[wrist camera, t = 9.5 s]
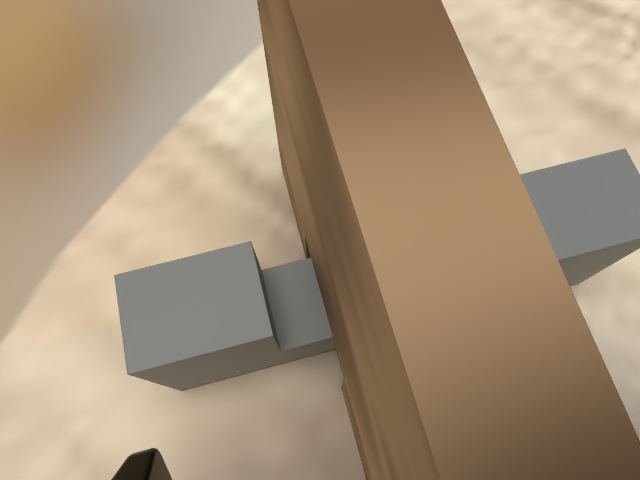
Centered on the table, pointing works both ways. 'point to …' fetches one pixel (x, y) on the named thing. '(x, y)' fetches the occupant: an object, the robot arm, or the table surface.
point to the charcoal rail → (304, 293)
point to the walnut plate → (432, 255)
